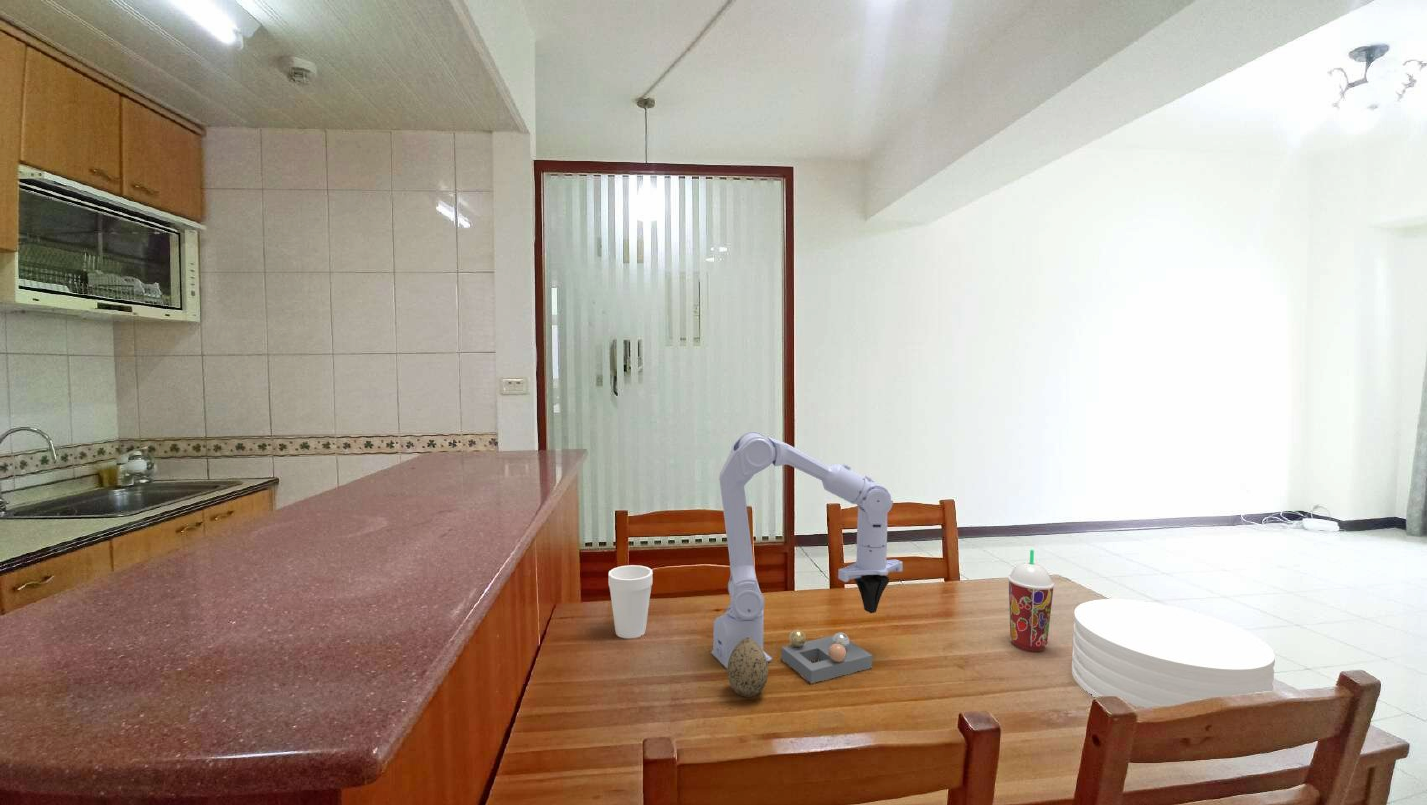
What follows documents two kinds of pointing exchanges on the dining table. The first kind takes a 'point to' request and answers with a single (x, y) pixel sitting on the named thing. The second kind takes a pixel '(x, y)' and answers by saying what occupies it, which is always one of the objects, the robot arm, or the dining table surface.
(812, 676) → the grey tray with hole
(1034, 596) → the smoothie
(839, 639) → the steel ball
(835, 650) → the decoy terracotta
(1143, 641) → the plate stack
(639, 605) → the foam cup
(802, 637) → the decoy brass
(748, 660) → the decorative egg
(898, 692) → the dining table surface
